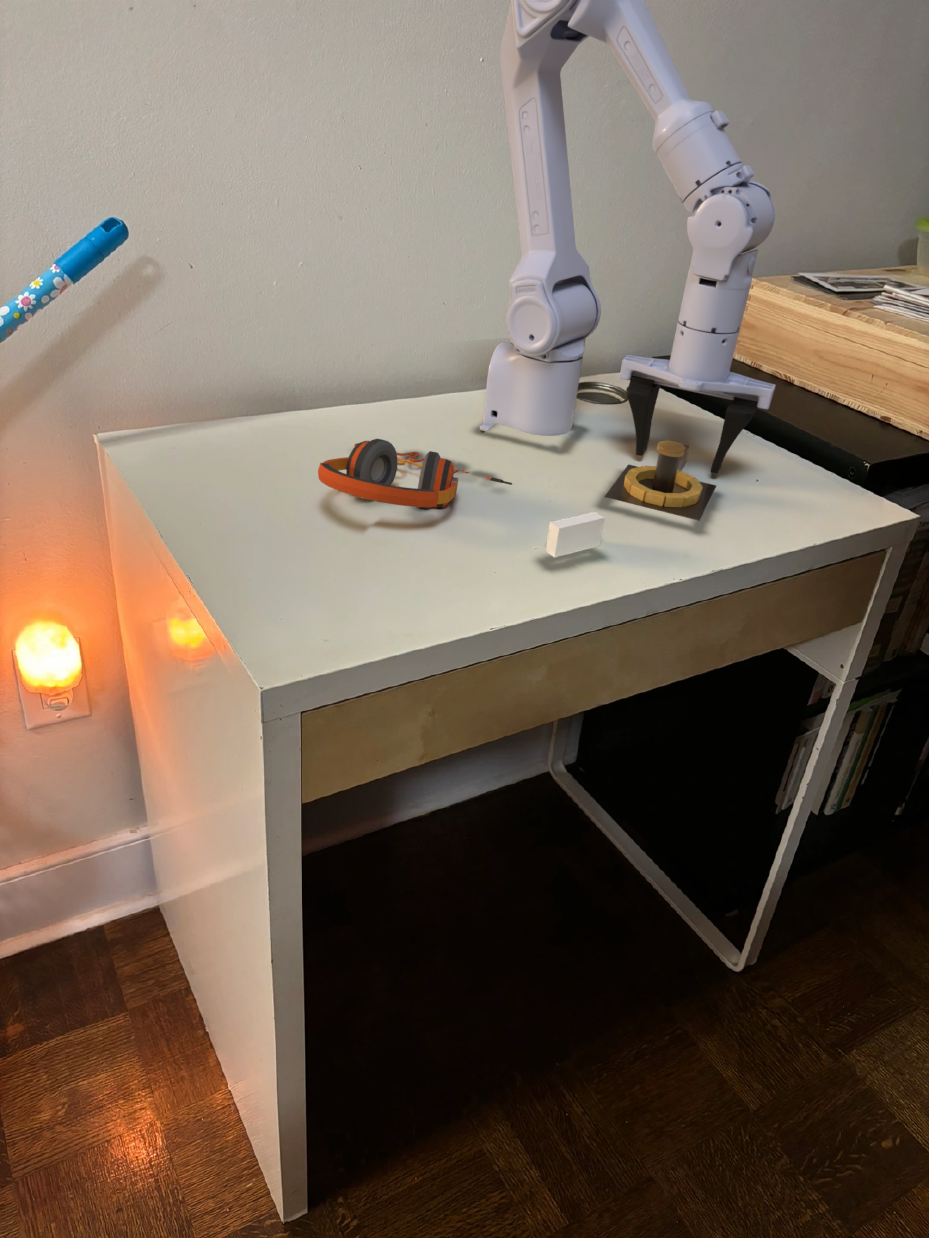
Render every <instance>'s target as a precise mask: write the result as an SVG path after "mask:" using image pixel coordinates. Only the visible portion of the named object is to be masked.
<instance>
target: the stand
mask: <svg viewBox="0 0 929 1238" xmlns="http://www.w3.org/2000/svg"><path fill="white" fill-rule="evenodd" d="M683 444H684V443H681V442H678V441H674V440H660V441H658V443H657V446H656V451H657V452H658V456H657V462H656V465H655V466H656V470H655V475H654V479H645V480H641V481H638V482H639V484H641V485H643V486H645V487H647V488H649V489H651V490H655V491H659V492H663V493H683V492H686V491H687V489H686V488H684V487H682V486H680V485H678V484H676V483H675V479H676V475H677V470H678V466H679V462H680V457H681V456H683V455H684V454H685V450H686V447H685V446H684V445H683ZM637 467H638V466H637V465H633V464H627V465H626V467H625V468H624V469H623V471H622V472H621V474H620V475H619V476H618V477H617V478H616V480H615V482H614V483H613V484H612V486H611V487H610V488H609V490H608V491H607V492H606V494H605V495H604V498H606V499H607V498H608V499H611V500H614V501H619V502H623V503H626V504H631V505H634V506H639V507H643V508H647V509H650V510H655V511H659V512H662V513H666V514H669V515H670V514H671V515H675V516H678V517H682V518H686V519H690V520H694V521H698V522H699V521H700V520H701V519H702V516H703V515H704V512H705V510H706V508H707V506H708V504H709V502H710V501H711V498H712V496H713V494H714V492H715V490H716V488H717V485H716V484H712V483H708V482H704V481H700V480H698V481H699V482H700V484H701V485H702V487H703V489H702V493H701V497H700V498H699V500H698V502H697V503H696V504H693V505H690V506H686V507H683V506H682V507H664V505H663V506H658V505H654V504H650V503H646V502H645V501H641V500H639V499H637V498H635V497H634V496H632V495H630V493H628V492H627V490H626V488H625V487H624V480H625V476H626V474H627V473H628V472H629V470H631V469H633V468H637Z"/></svg>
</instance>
